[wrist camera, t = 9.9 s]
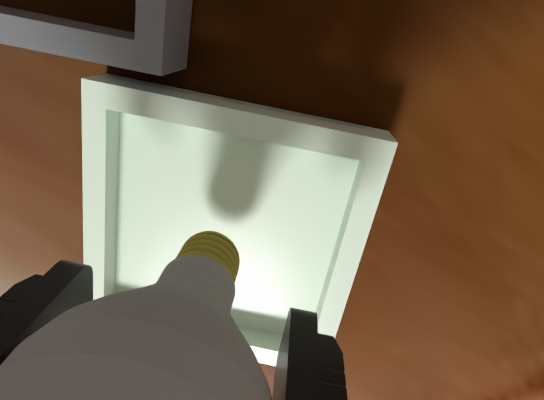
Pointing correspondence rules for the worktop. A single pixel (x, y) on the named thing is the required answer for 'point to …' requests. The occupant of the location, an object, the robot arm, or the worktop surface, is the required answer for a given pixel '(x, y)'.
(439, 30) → the worktop surface
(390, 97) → the worktop surface
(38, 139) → the worktop surface
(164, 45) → the case
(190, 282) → the light bulb
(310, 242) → the tray
